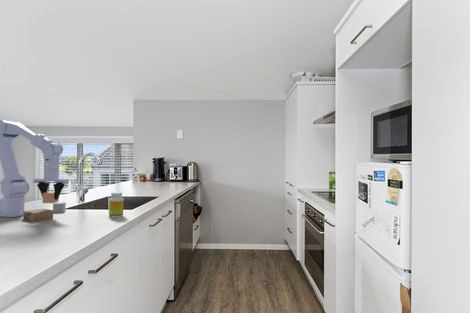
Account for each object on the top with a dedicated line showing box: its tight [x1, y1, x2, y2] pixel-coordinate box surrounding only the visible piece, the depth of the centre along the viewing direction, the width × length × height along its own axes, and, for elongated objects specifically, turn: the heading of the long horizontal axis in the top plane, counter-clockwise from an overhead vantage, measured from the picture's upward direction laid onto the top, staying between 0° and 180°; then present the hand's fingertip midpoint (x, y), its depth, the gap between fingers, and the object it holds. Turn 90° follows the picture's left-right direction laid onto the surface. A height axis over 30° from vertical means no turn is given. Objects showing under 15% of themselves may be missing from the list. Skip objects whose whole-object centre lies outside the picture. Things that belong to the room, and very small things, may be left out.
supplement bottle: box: [108, 191, 125, 219], centre depth 134 cm, size 6×6×11 cm
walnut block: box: [22, 208, 54, 223], centre depth 124 cm, size 8×8×4 cm
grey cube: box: [52, 201, 67, 214], centre depth 142 cm, size 4×4×4 cm
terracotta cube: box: [41, 191, 59, 204], centre depth 128 cm, size 4×4×4 cm
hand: (50, 199), depth 128 cm, fingers closed on terracotta cube, 4 cm apart
